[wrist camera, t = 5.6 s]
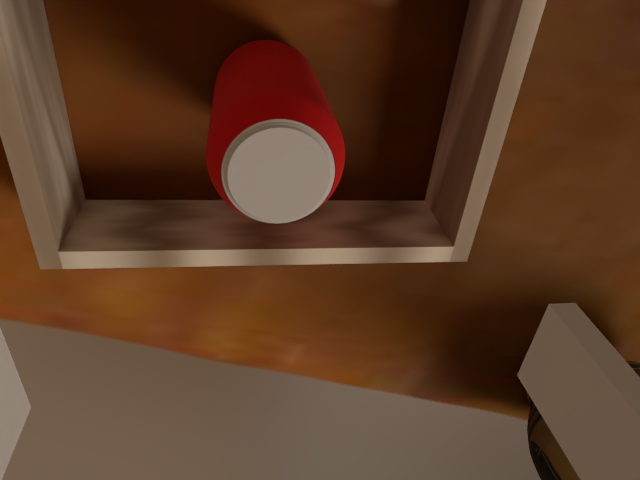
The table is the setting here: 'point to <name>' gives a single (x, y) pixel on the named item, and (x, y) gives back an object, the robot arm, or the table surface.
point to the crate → (216, 215)
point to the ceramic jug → (551, 445)
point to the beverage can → (272, 135)
